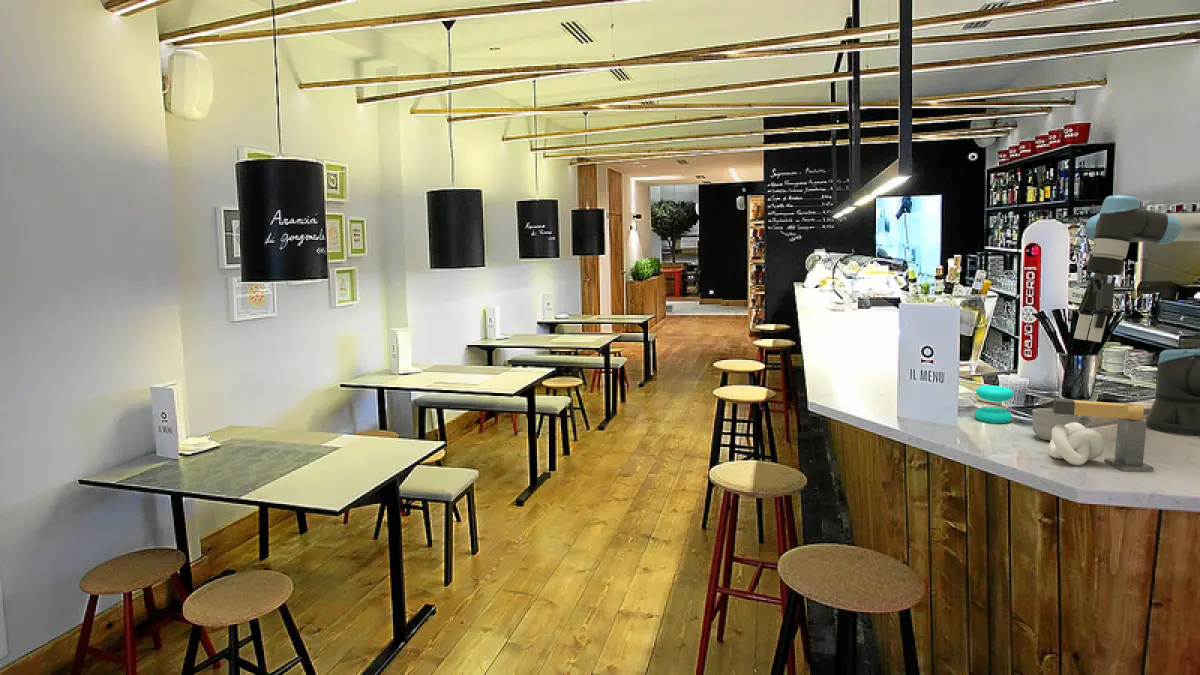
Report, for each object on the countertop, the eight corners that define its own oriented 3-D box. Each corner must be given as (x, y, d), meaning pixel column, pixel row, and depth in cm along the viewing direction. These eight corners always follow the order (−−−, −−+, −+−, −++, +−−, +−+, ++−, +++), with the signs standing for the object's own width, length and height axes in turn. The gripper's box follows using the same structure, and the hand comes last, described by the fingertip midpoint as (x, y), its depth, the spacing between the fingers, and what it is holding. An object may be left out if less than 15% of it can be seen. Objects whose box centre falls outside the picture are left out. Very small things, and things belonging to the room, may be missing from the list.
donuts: (970, 384, 225) (1003, 384, 225) (968, 416, 226) (1001, 416, 226) (985, 391, 215) (1020, 391, 215) (983, 424, 216) (1018, 424, 216)
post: (1134, 462, 178) (1138, 416, 177) (1153, 471, 171) (1157, 423, 170) (1103, 462, 179) (1107, 415, 177) (1122, 471, 172) (1126, 422, 170)
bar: (1140, 417, 174) (1141, 403, 174) (1144, 420, 171) (1146, 407, 170) (1052, 410, 182) (1053, 397, 181) (1054, 414, 178) (1055, 401, 178)
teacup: (1031, 441, 197) (1033, 412, 196) (1029, 432, 207) (1031, 404, 206) (1093, 448, 191) (1095, 418, 190) (1088, 438, 200) (1090, 409, 199)
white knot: (1085, 471, 172) (1088, 434, 170) (1033, 459, 182) (1035, 424, 181) (1108, 463, 178) (1111, 427, 176) (1056, 452, 188) (1059, 418, 186)
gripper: (1077, 258, 197) (1058, 335, 200) (1104, 251, 174) (1082, 339, 176) (1109, 263, 195) (1090, 341, 197) (1141, 256, 172) (1118, 345, 174)
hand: (1086, 340), depth 187 cm, fingers open, 13 cm apart
